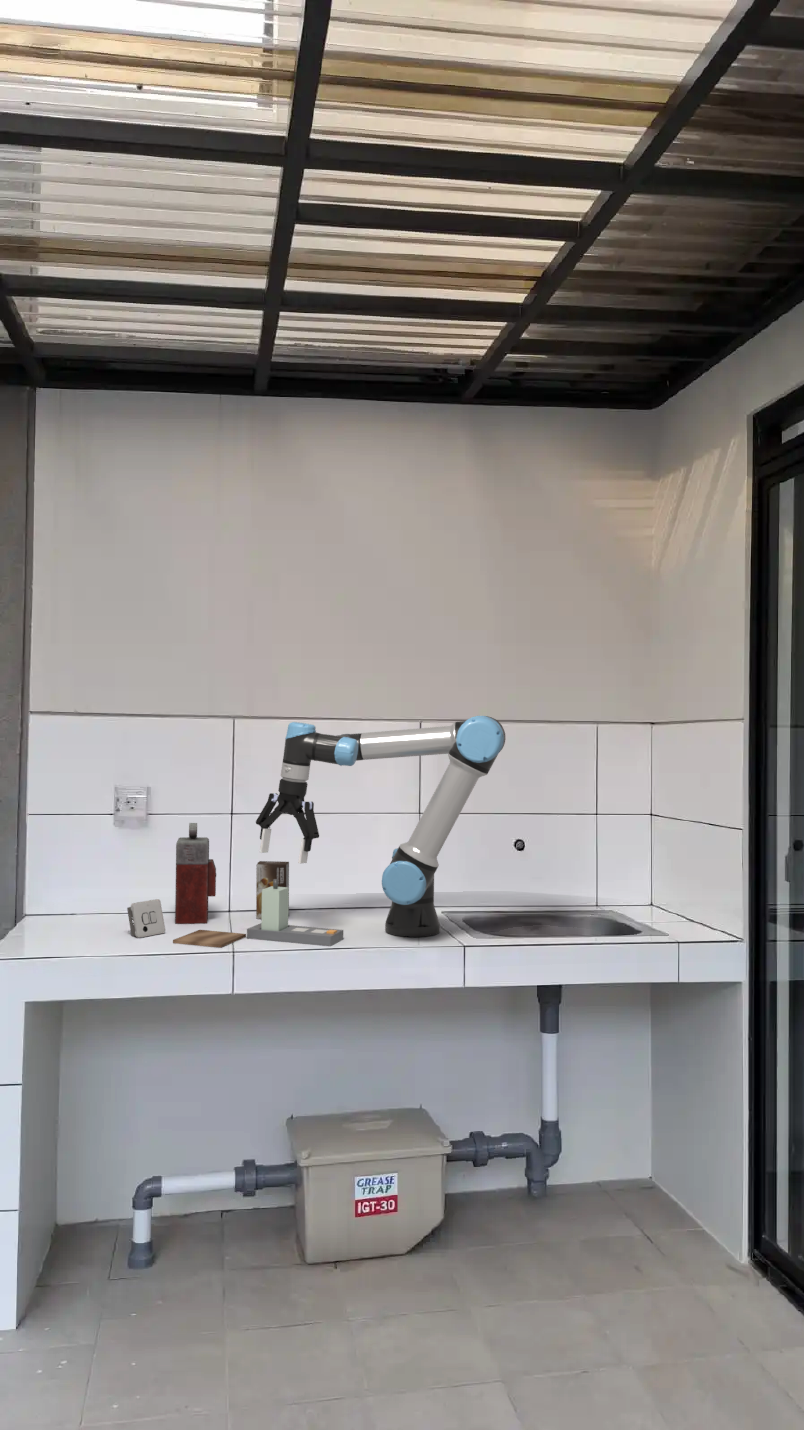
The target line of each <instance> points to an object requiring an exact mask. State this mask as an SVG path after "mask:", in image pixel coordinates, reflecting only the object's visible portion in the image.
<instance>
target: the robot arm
mask: <svg viewBox="0 0 804 1430" xmlns="http://www.w3.org/2000/svg"><path fill="white" fill-rule="evenodd" d="M316 728H317V727H316V725H314V724H311V723H305V722H300V721H299V722H297V721H292V722H290V723H289V724H288V726H287V729H286V736H285V742H284V749H283V756H282V757H283V758H282V764H281V770H280V777H281V778H280V779H279V784H278V792H279V793H277V792H276V793H269V794H268V797H267V798H268V799H267V801H266V803H265V804H264V806H263V808H262V809H261V812H260V813H259V815H258V817H257V819H256V820H255V824H256V825H257V826H259V827H260V833H259V839H260V840H261V841H260V848H259V853H261V854H265V853H266V854H267V853H269V848H270V841H271V834H272V828H271V826H272V825H273V824H274V822H276V820H278V818H279V817H280V816H281V815H282V814H288V815H290V816H293V818H295V820H296V823H297V824H298V826H299V829H300V830H301V833H302V836H303V838H301V842H300V848H299V856H298V864H308V863H307V862H308V858H309V857H308V856H309V852H310V851H311V850H312V842H313V840H314V839H319V838H320V833H319V828H318V825H317V819H316V816H315V812H314V810H315V808H314V806H315V802H314V801H305V797H306V795H307V791H308V782H307V781H308V780H309V778H310V771H311V763H312V762H311V761H313V762H315V761H316V762H322V763H327V764H334V765H338V766H340V767H342V766H345V767H346V766H347V767H352V766H354V765H355V763H356V761H366V760H369V761H370V760H381V759H383V760H384V759H392V758H393V759H394V758H396V759H397V758H409V757H421V756H424V757H425V756H434V755H435V756H436V755H437V756H438V755H447V756H448V759H449V764H448V765H447V768H446V769H445V770H444V773H443V775H442V777H441V779H440V780H439V782H438V784H437V786H436V788H435V790H434V792H433V794H432V796H431V797H430V799H429V802H428V803H427V805H426V807H425V809H424V811H423V812H422V815H421V817H420V818H419V821H418V822H417V824H416V825H415V828H414V830H413V831H412V834H411V835H410V838H409V840H408V841H407V842H404V843H400V845H398V848H394V849H393V851H392V856H391V861H390V863H389V864H388V865H387V866H386V867H385V869H384V871H383V872H382V875H381V887H382V890H383V893H384V894H385V896H386V897H387V898H388V899H389V900H390V901H391V905H390V908H389V911H388V914H387V917H386V920H385V924H384V925H385V926H384V928H385V929H384V930H385V931H384V932H385V933H387V934H390V935H393V936H397V937H398V936H400V937H407V936H410V938H411V937H413V938H415V937H416V938H419V937H421V938H422V937H430V936H434V935H437V934H439V933H440V928H441V926H440V925H441V924H440V921H439V920H440V919H439V917H438V914H437V910H436V907H435V873H436V872H437V869H438V868H439V867H440V866H439V865H440V864H439V861H438V856H439V854H440V852H441V850H442V849H443V847H444V845H445V842H446V841H447V839H448V837H449V835H450V833H451V832H452V829H453V827H454V826H455V823H456V822H457V820H458V818H459V816H460V815H461V812H462V811H463V809H464V807H465V805H466V803H467V801H468V799H469V797H470V795H471V794H472V791H473V789H474V788H475V786H476V784H477V782H478V781H479V779H480V778H482V777H484V776H487V775H489V772H490V770H491V769H492V766H493V765H494V762H495V761H496V759H497V757H498V755H499V753H500V752H502V750H503V748H504V747H505V744H506V733H505V728H504V727H503V725H502V724H501V722H499V721H498V720H497V719H496V718H494V717H490V716H488V715H487V716H486V715H476V716H472V717H470V718H467V719H466V720H463V721H462V720H461V721H454V722H453V723H452V724H451V725H445V726H435V727H434V726H433V727H420V728H419V727H418V728H409V729H396V730H383V731H372V732H361V733H360V732H359V733H344V734H343V733H342V734H339V735H338V734H337V735H334V734H327V733H326V734H324V733H321V732H320V733H319V732H317V730H316ZM276 804H277V805H276ZM275 806H276V807H275ZM273 809H274V810H273Z"/></svg>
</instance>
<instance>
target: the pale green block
mask: <svg viewBox="0 0 804 1430" xmlns="http://www.w3.org/2000/svg"><path fill="white" fill-rule="evenodd" d="M288 894H289V895H290V887H289V888H288V887H278V880H277V879H274V880H273V886H271V887H268V888H265V889H263V890H262V919H261V922H260V923H261V929H262V930H273V931H281V930H283V929H285V928H288V925H289V917H288Z"/></svg>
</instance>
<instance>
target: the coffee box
mask: <svg viewBox="0 0 804 1430" xmlns="http://www.w3.org/2000/svg"><path fill="white" fill-rule="evenodd" d="M255 870H256V877H255V878H256V883H255V886H256V888H255V890H256V891H255V892H256V893H255V895H256V896H255V900H256V907H255V908H256V909H255V910H256V913H255V914H256V915H255V916H256V917H255V918H256V919H257V920H262V890H263V889H265V888H268V887H271V886H273V880H274V879H277V880H278V887H288V888H289V889H290V887H289V886H290V861H278V860H277V861H276V860H275V861H268V860H267V861H265V860H259V861H258V862H257V864H256V868H255ZM289 916H290V893H289V894H288V918H289Z"/></svg>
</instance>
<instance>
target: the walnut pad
mask: <svg viewBox="0 0 804 1430" xmlns="http://www.w3.org/2000/svg"><path fill="white" fill-rule="evenodd" d="M244 938H247V933H239V932H230V931H229V932H228V931H217V930H207V929H198V930H195V931H193V932H189V933H188V934H185V935H182V936H180V937H177V938H174V939H172V943H173V944H180V945H189V946H197V947H198V946H200V947H207V948H208V947H210V948H222V949H223V948H224V947H225V946H226V947H227V946H228V945H230V944H233V943H235V942H238V941H240V940H242V939H244Z"/></svg>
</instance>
